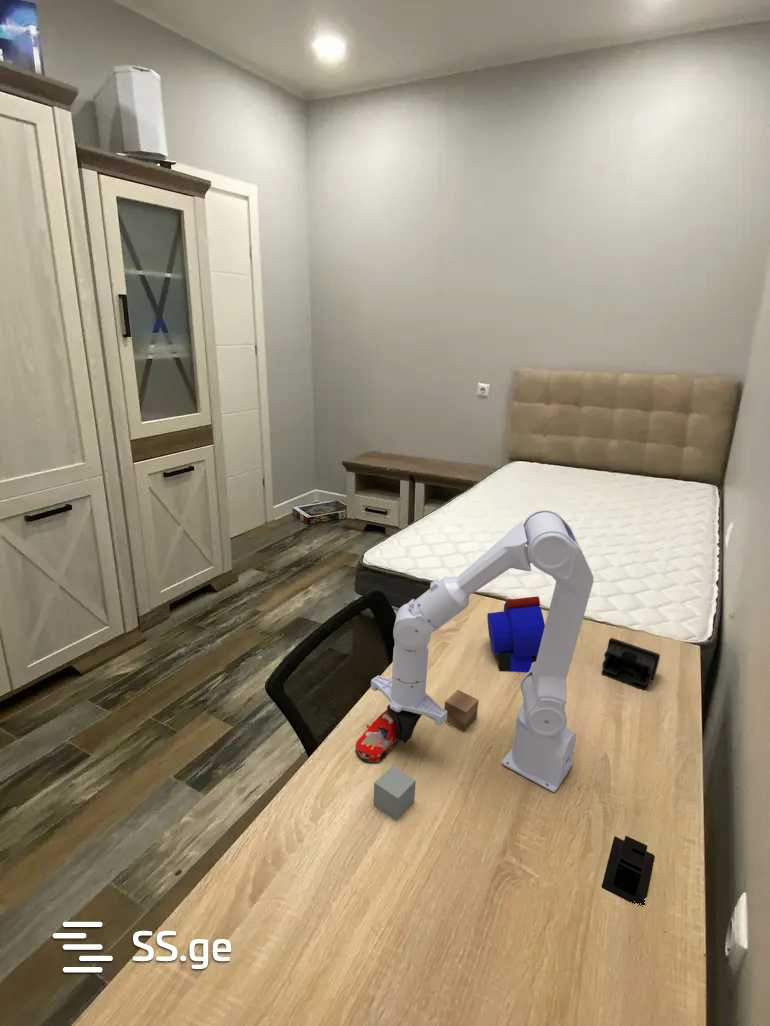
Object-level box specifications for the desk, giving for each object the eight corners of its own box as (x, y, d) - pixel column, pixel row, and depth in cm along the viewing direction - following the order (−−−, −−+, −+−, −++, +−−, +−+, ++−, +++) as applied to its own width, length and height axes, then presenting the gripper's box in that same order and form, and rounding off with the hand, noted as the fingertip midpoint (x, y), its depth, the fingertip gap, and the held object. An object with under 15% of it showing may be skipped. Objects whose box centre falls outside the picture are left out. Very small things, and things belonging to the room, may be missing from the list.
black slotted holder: (655, 676, 121) (662, 649, 119) (648, 692, 115) (654, 664, 113) (607, 659, 126) (613, 632, 124) (598, 674, 121) (604, 647, 119)
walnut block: (476, 719, 106) (478, 699, 104) (464, 732, 102) (466, 712, 101) (455, 709, 108) (457, 689, 107) (443, 721, 105) (445, 701, 103)
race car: (375, 770, 93) (376, 751, 92) (349, 756, 96) (349, 737, 95) (416, 725, 104) (417, 708, 102) (391, 713, 107) (392, 696, 105)
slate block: (414, 802, 87) (415, 779, 86) (396, 821, 84) (398, 798, 82) (391, 787, 90) (392, 765, 88) (373, 805, 87) (374, 782, 85)
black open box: (648, 927, 71) (655, 902, 70) (589, 896, 75) (595, 871, 73) (661, 852, 81) (668, 829, 80) (609, 828, 85) (614, 805, 83)
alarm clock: (546, 673, 120) (557, 611, 115) (489, 671, 120) (497, 609, 115) (533, 641, 132) (542, 584, 127) (480, 639, 132) (487, 581, 126)
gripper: (360, 666, 95) (358, 731, 99) (432, 704, 86) (426, 773, 91) (386, 648, 100) (383, 711, 105) (456, 682, 92) (449, 749, 96)
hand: (405, 738), depth 98 cm, fingers closed
